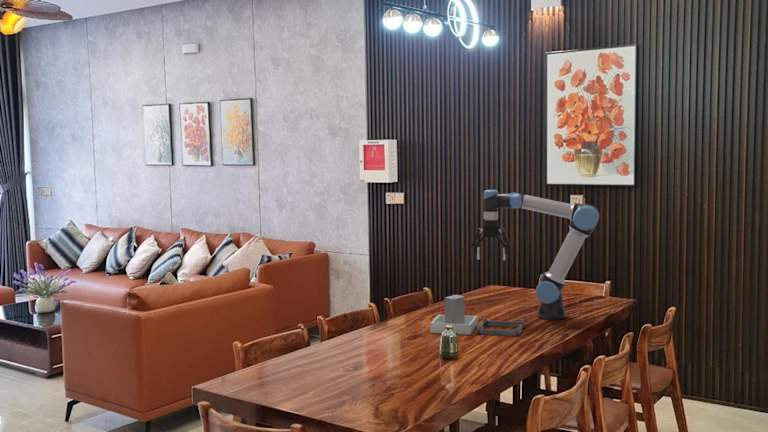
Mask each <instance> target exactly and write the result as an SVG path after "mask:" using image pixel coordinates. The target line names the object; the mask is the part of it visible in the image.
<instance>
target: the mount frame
mask: <svg viewBox="0 0 768 432" xmlns="http://www.w3.org/2000/svg"><path fill="white" fill-rule="evenodd" d="M488 326H491V327H505V328H506V327H508V328H509V327H510V328H511V327H512V328H515V330H513V329H495V328H491V329H490V328H485V327H488ZM523 328H525V318H520V321H514V320H513V321H510V320H509V321H507V320H488V319H487V316H483V317H482V322H481V324H480V325H479V324H478V326H477V327H476V335H487V336H488V335H489V336H506V337H507V336H511V337H521V333H522V331H523Z"/></svg>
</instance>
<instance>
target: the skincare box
mask: <svg viewBox="0 0 768 432" xmlns="http://www.w3.org/2000/svg"><path fill="white" fill-rule="evenodd" d="M465 301H466V299H465V296H463V295H460V294H453V295H449V296H445V297H444V315H445V323H454V324H465V316H466V315H465Z"/></svg>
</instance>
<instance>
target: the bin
mask: <svg viewBox="0 0 768 432" xmlns="http://www.w3.org/2000/svg"><path fill="white" fill-rule="evenodd" d="M429 324H430V325H429V326H430V327H429V329H430V332H429V333H431V334H442V332H443V330H444V329H445V326H446V325H452V327H453V329H454V331H455V332H456V333H457V334H456V335H466V336H470V335H472V334H473V333H474V331H475V330H476V329H477V326H478V325H479V324H478V315H465V324H454V323H445V314H438V315H437V316H435V317H434V318H433V320H432V321H431V322H430V323H429Z"/></svg>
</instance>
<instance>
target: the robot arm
mask: <svg viewBox="0 0 768 432" xmlns="http://www.w3.org/2000/svg"><path fill="white" fill-rule="evenodd" d="M482 198H483V199H482V201H483V219H484V220H483V228H480V227H479V228H477V232H476V235H475V237H474V239H473V241H472V243H471V246H472V247H474V253H475V254H476V260H478V261H479V260H480V258H481V257H480V245H481V244H482V242H483V241H484V240H485V239H486V238H496V239H497V240H498V241H499V243H500V244H501V245H502V246H503V248H502V254H503V255H502V261H506V254H508V248H509V247H511V245H512V244H511V243H510V240H509V238H508V237H507V235H506V232H505V231H506V230H505V228H499V220H498V219H499V209H513V210H515V209H522V210H523V209H524V210H528V211H533V212H538V213H542V214H546V215H550V216H555V217H561V218H565V219H569V221H570V223H569V224H568V227H569V231H568V233H567V235H566V237H565V239H564V241H563V242H562V244H561V247H560V248H559V251H558V252H557V254H556V256H555V258H554V261H553V263H552V264H551V266H550V268H549V270H548V271H546V272H544V273H541V274H540V276H539V283H538V284H537V286H536V287H535V295H536V298H537V299H538V301H539V306H538V307H537V311H536V317H537V318H538V319H542V320H553V321H554V320H563V318H564V319H566V318H567V312H566V309H565V305H564V302H563V300H564V299H563V298H564V297H563V293H564V290H563V289H564V287H565V284H566V281H565V279H566V277H567V274H568V272H569V270H570V268H571V266H572V265H573V264H574V261H575V259H576V257H577V255H578V253H579V251H580V250H581V248H582V245H583V244H584V242H585V239H587V238H588V237H590V236H591V235H592V233H593V231H594V230H595V227H596V226H597V224H598V222H599V220H600V212H599V210H598V208H597V207H596V206H594V205H592V204H588V203H587V204H583V203H577V202H573V203H568V202H567V203H566V202H562V201H557V200H553V199H548V198H542V197H539V196H534V195H528V194H523V193H519V192H516V191H512V192H510V193H499V191H498V190H497V189H486V190H483V197H482ZM482 232H483V236H482V237H481V238H480V239H479V237H480V234H481V233H482ZM499 233H500V234H501V235H502V237H503V239H504V240H503V239H502V238H501V237H500V234H499ZM478 240H479V241H478Z"/></svg>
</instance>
